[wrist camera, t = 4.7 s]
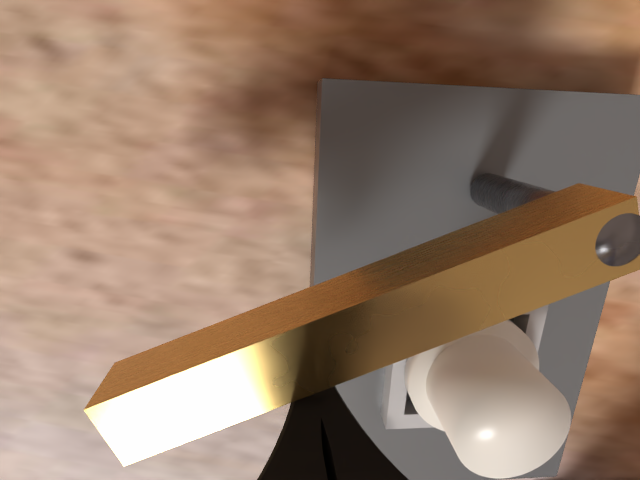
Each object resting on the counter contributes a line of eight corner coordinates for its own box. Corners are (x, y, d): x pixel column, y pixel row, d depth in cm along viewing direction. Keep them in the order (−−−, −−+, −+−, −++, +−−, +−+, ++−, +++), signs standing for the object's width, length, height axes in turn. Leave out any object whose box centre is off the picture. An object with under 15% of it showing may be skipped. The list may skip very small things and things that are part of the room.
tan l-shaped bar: (183, 331, 17) (123, 465, 11) (161, 292, 17) (83, 409, 10) (507, 205, 17) (652, 264, 10) (497, 160, 16) (644, 193, 10)
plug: (502, 402, 21) (569, 488, 16) (391, 405, 20) (426, 496, 15) (524, 298, 19) (606, 361, 14) (403, 298, 18) (447, 364, 14)
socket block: (534, 448, 24) (568, 492, 22) (303, 458, 23) (306, 507, 20) (621, 97, 18) (684, 95, 16) (317, 82, 17) (325, 75, 14)
